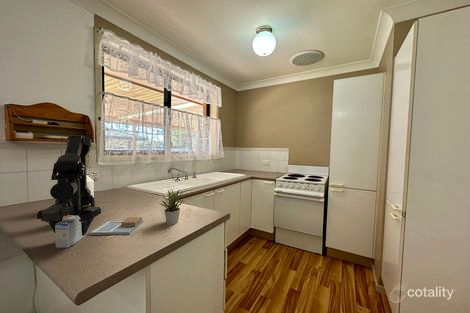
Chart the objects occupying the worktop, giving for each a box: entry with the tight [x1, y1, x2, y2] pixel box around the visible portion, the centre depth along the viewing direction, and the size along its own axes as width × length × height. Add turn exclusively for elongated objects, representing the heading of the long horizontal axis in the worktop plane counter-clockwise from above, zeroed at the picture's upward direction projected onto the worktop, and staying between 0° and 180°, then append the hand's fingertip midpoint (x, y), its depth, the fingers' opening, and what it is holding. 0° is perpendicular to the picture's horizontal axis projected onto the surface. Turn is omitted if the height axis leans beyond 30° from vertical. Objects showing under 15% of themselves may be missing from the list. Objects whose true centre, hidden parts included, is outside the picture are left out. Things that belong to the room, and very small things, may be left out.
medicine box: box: [54, 215, 86, 249], centre depth 69 cm, size 8×4×9 cm, turn 5°
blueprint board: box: [88, 216, 144, 236], centre depth 81 cm, size 16×12×3 cm
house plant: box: [157, 188, 188, 226], centre depth 88 cm, size 14×14×16 cm
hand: (70, 235), depth 69 cm, fingers open, 9 cm apart
